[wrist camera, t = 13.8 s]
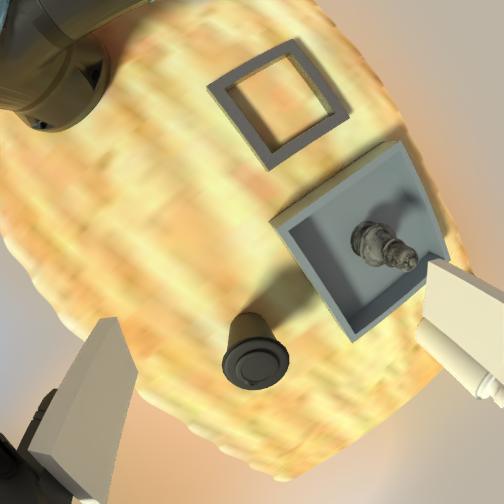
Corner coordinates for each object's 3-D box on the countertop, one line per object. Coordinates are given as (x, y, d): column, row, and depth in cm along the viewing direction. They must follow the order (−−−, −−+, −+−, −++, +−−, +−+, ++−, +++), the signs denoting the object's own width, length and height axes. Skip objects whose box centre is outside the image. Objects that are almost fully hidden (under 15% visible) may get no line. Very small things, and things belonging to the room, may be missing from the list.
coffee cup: (229, 357, 43) (233, 401, 33) (213, 312, 40) (212, 352, 31) (281, 343, 43) (297, 384, 33) (269, 296, 41) (284, 333, 31)
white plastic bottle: (414, 348, 47) (494, 430, 23) (415, 320, 45) (508, 400, 21) (439, 335, 48) (521, 406, 24) (441, 306, 46) (534, 375, 22)
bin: (268, 221, 38) (276, 229, 33) (381, 142, 37) (401, 140, 32) (339, 326, 43) (352, 343, 39) (431, 251, 42) (450, 260, 37)
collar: (206, 90, 33) (206, 86, 31) (288, 44, 32) (292, 38, 30) (266, 171, 36) (269, 171, 34) (343, 120, 35) (350, 118, 34)
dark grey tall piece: (347, 221, 38) (395, 242, 27) (383, 216, 39) (437, 233, 27) (349, 263, 40) (394, 296, 28) (384, 255, 40) (434, 283, 29)
